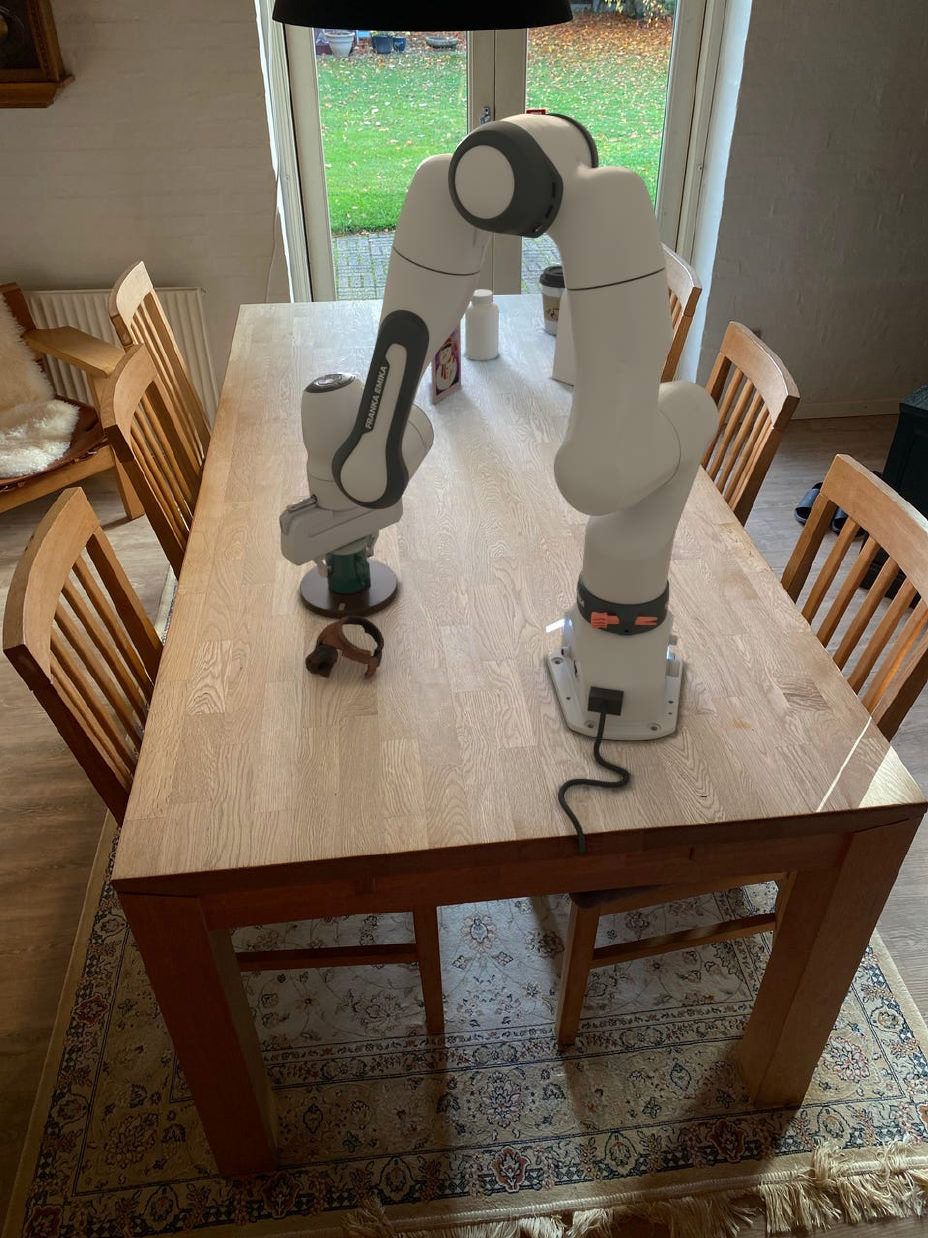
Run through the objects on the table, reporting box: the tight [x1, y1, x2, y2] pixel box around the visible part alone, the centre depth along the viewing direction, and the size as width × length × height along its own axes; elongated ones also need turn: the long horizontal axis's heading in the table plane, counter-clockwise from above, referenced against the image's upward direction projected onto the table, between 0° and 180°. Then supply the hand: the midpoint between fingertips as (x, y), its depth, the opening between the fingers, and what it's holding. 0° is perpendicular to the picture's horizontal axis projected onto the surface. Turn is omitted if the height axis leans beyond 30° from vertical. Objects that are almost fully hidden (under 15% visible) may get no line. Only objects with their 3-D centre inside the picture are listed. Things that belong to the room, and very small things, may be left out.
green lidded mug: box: [324, 536, 371, 594], centre depth 142 cm, size 7×9×8 cm
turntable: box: [299, 557, 398, 620], centre depth 145 cm, size 15×15×2 cm
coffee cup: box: [538, 264, 565, 336], centre depth 235 cm, size 11×11×15 cm
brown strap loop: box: [304, 615, 385, 679], centre depth 129 cm, size 12×10×8 cm
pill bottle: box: [464, 288, 500, 361], centre depth 222 cm, size 8×8×15 cm
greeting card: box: [430, 320, 462, 405], centre depth 204 cm, size 11×7×15 cm, turn 148°
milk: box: [551, 289, 575, 386], centre depth 207 cm, size 12×12×26 cm
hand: (346, 565), depth 143 cm, fingers closed on green lidded mug, 6 cm apart
